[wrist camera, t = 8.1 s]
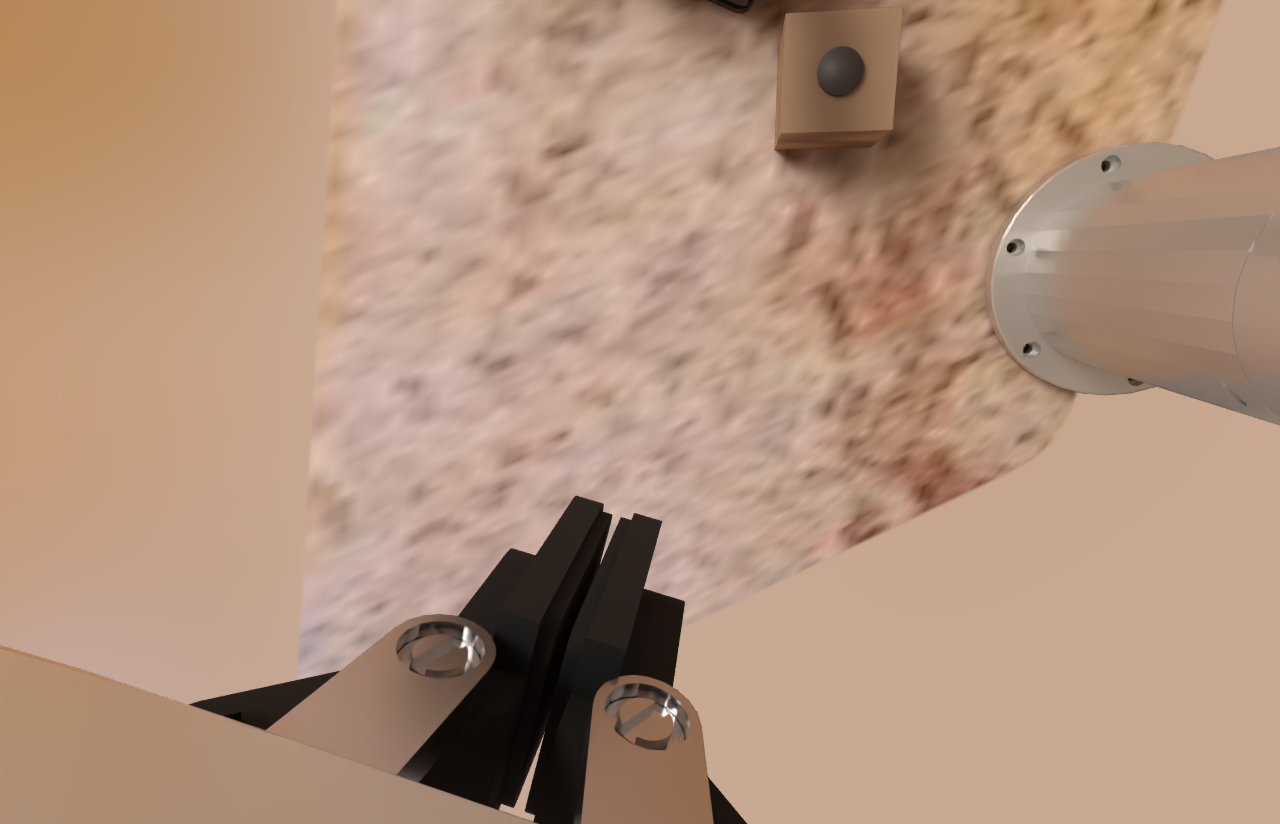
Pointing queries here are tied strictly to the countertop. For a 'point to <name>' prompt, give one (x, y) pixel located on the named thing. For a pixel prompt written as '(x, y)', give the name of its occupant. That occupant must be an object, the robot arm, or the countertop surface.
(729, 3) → the black arched block
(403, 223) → the countertop surface
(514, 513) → the countertop surface
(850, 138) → the marked block
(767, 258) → the countertop surface
